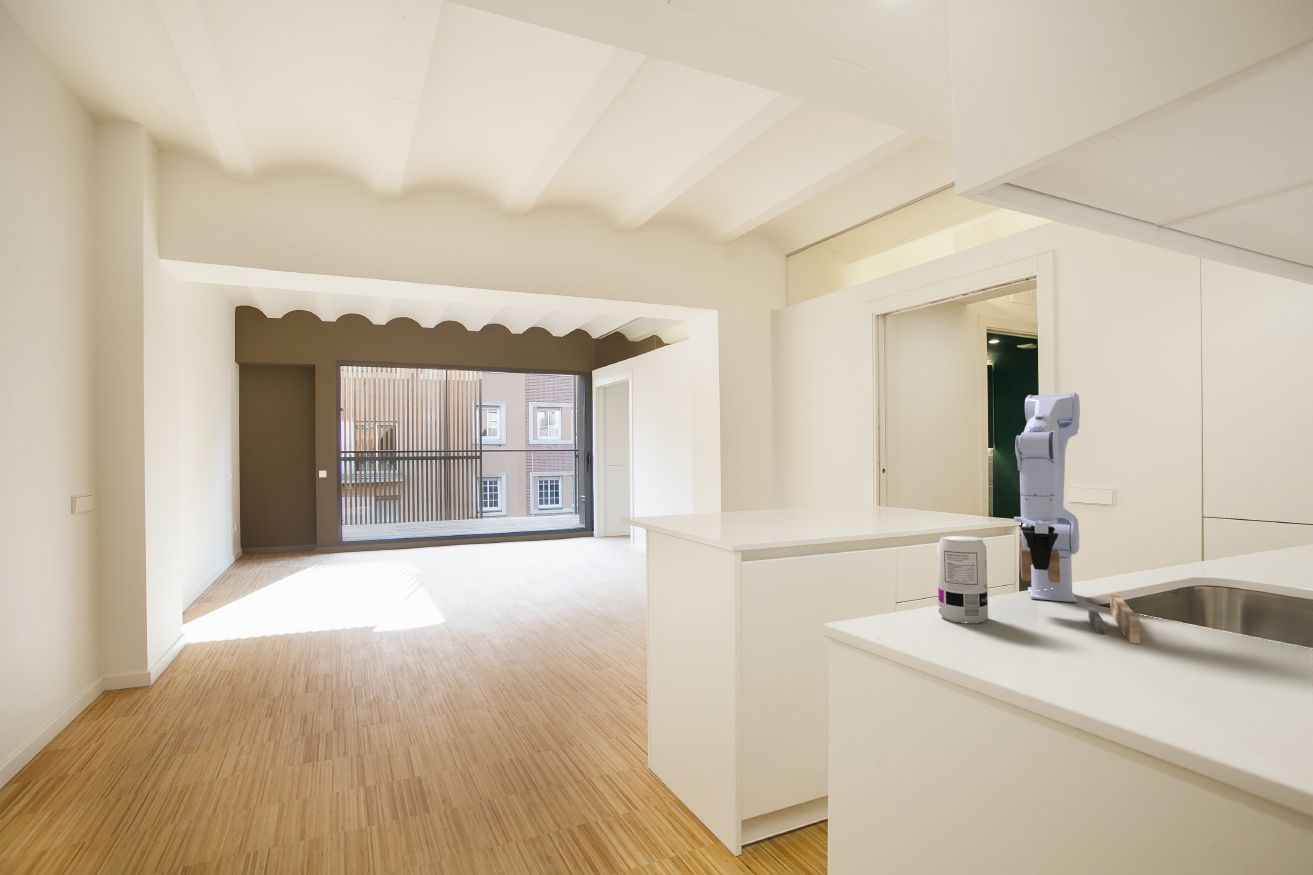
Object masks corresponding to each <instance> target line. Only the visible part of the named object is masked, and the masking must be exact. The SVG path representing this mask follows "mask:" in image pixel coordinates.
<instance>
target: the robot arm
mask: <svg viewBox="0 0 1313 875" xmlns="http://www.w3.org/2000/svg"><path fill="white" fill-rule="evenodd" d="M1024 415H1025V421H1026V425H1025V426H1024V430H1023V432H1021V433H1020V435H1019V434H1017V435H1016V437H1015V445H1014V446H1015V448H1014V449H1015V456H1016V461H1017V471H1019V491H1020V492H1019V494H1020V498H1019V499H1020V516H1014V517H1013V520H1014V522H1017V523H1019V522H1020V523H1022V526H1020V530H1021V546H1022V548H1030V553H1031V558H1032V563H1033V565H1031V580H1032V581H1030V582H1031V586H1028V587H1027V590H1028V594H1029V597H1030V599H1031V600H1032V599H1033V600H1044V601H1055V602H1066V603H1067V602H1068V603H1069V602H1070V603H1077V602H1078V599H1077V598H1076V596H1075V595H1074V592H1073V572H1072V571H1073V570H1072V556H1073V555H1077V553H1079V550H1080V529H1079V520H1078V518H1077V516H1076V515H1075V514H1074V513H1072V512H1071V511H1069V510H1068V509H1066V508H1065V507H1064V501H1065V500H1064V498H1065V492H1064V491H1065V475H1066V474H1065V472H1066V471H1065V470H1066V451H1067V450H1066V449H1067V446H1068V442H1069V439H1070V438H1072V437H1075V436H1076V435H1077V434H1078V433H1079V429H1080V415H1081V403H1080V396H1079V395H1078V394H1077V393H1076V392H1071V393H1070V392H1069V393H1058V394H1057V393H1056V394H1055V393H1054V394H1038V395H1032V394H1028V395H1027V396H1026V397H1025V400H1024ZM1052 549H1056V550H1057V551H1058V552H1059V566H1060V583H1053V582H1050V581H1049V579H1048V567H1049V562H1050V556H1051V551H1052ZM1051 588H1053V589H1051ZM1044 589H1047V590H1044ZM1036 590H1040V591H1036ZM1034 591H1036V592H1034ZM1029 592H1030V593H1029Z"/></svg>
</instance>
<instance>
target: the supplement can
mask: <svg viewBox="0 0 1313 875" xmlns="http://www.w3.org/2000/svg"><path fill="white" fill-rule="evenodd" d="M936 548H937V551H936V552H937V553H936V554H937V556H936V557H937V584H938V586H937V589H938V590H937V591H938V592H937V594H938V613H939V615H940V616H941V617H942V616H943V617H942V618H943V619H944V618H945V619H944V620H946V619H947V620H946V621H949V620H950V621H949V622H953V623H958V622H967V623H975V624H979V623H978V622H981V623H984V622H985V620H987V619H988V617H989V605H988V604H989V603H988V601H989V600H988V566H987V563H988V562H987V546H986V545H985V543H984V541H983V537H979V536H975V535H965V534H964V535H963V534H949V535H948V534H946V535H941V536H940V539H939V541H938V543H937V544H936ZM939 607H941V608H939ZM983 621H984V622H983ZM967 623H966V624H967Z"/></svg>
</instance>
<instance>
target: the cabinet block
mask: <svg viewBox="0 0 1313 875" xmlns="http://www.w3.org/2000/svg"><path fill="white" fill-rule="evenodd" d="M1019 554H1020V555H1019V556H1020V558H1019V559H1020V577H1021V580H1022V581H1024V582H1025V581H1027V582H1031V581H1032V580H1031V565H1033V563H1032V558H1031V553H1030V548H1024V547H1019ZM1048 579H1049V581H1050V582H1053V583H1060V566H1059V552H1058V551H1057V550H1056V549H1052V551H1051V556H1050V562H1049V567H1048Z"/></svg>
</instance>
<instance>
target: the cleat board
mask: <svg viewBox="0 0 1313 875" xmlns="http://www.w3.org/2000/svg"><path fill="white" fill-rule="evenodd" d="M1109 606H1110V607H1109V610H1110V612H1109V614H1110V616H1111V617H1113V618H1112V619H1113V620H1114V622H1115V621H1116V622H1115V623H1116V625H1117V624H1118V625H1117V626H1118V627H1119V629H1120V628H1121V629H1120V631H1121V632H1122V631H1123V632H1122V633H1123V635H1124V636H1125V637H1126V639H1127V638H1128V639H1127V640H1128V641H1129V643H1130V644H1136V643H1137V644H1138V645H1140V644H1141V638H1140V637H1141V635H1140V634H1141V632H1140V618H1139V617H1138V616H1137V614H1136V613H1135V612H1134V611H1133V610H1132V608H1130V606H1129V605H1128V604H1127V603H1126V601H1124V600H1123V598H1122V597H1121V596H1120V595H1119V593H1114V592H1113V593H1111V592H1110V593H1109ZM1087 610H1088V611H1087V612H1088V619H1089V622H1090V623H1091V625H1092V626H1094V627H1093V628H1094V630H1095V632H1096V633H1097V634H1103V635H1104V634H1105V621H1104V620H1103V618H1102V617H1101V615H1100V613H1099V612H1098V610H1097V609H1096V607H1092V606H1088V608H1087Z"/></svg>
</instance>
